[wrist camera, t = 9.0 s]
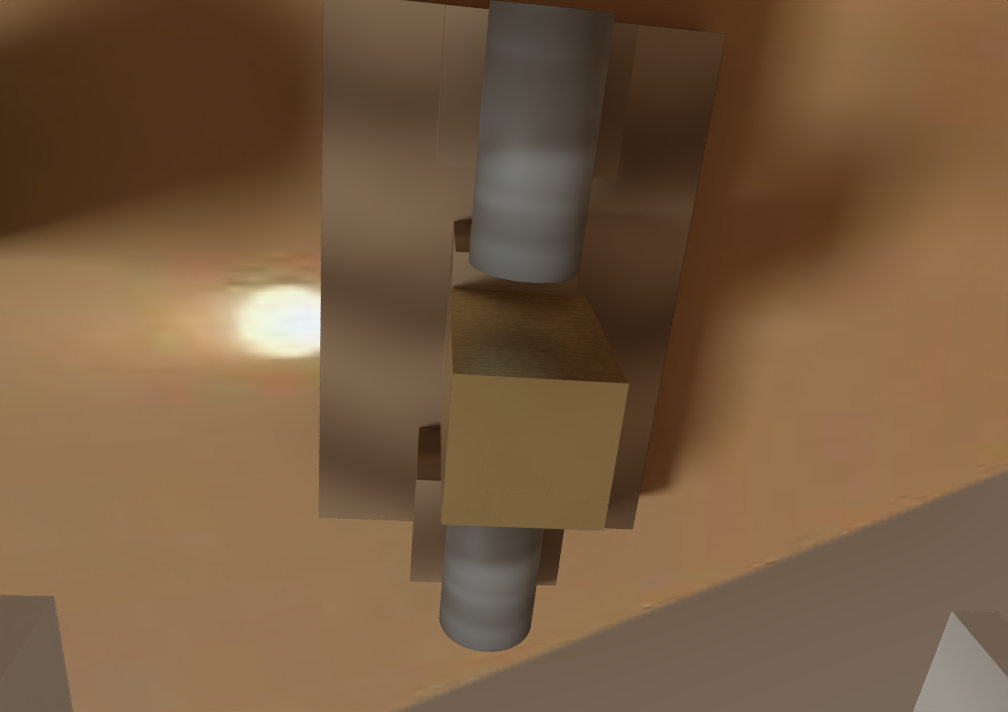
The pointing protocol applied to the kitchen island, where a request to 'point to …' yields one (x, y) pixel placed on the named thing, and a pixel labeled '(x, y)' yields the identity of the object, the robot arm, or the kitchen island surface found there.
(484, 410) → the wooden block
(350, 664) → the kitchen island surface
